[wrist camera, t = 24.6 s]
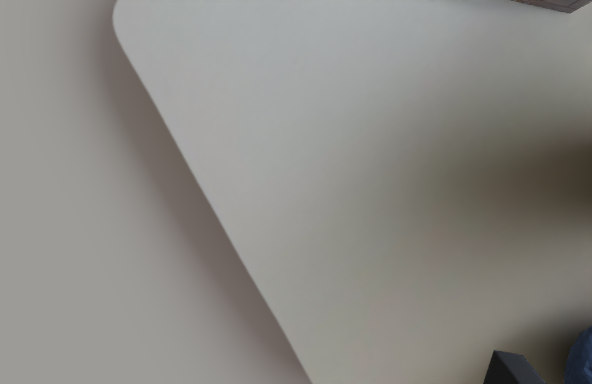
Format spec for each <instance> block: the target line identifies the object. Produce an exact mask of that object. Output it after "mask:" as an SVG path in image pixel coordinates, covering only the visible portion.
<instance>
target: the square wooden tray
mask: <svg viewBox="0 0 592 384" xmlns="http://www.w3.org/2000/svg"><path fill="white" fill-rule="evenodd" d="M513 1H517V2H522V3H526V4H531V5H535V6H540V7H544V8H549V9H553V10H558V11H562V12H567V13H571V12H573V11H575V10H577V9H579V8H581V7H582V6H584V5H586V4H588V3H590V2H592V0H513Z"/></svg>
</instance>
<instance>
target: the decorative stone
mask: <svg viewBox="0 0 592 384" xmlns="http://www.w3.org/2000/svg"><path fill="white" fill-rule="evenodd" d="M564 384H592V326H590V327H589V328H587V329H586V330H584V331H583V332H582V333H580V335H579V336H578V338H577V340H576V342H575V344H574V345H573V346H571V348H570V350H569V357H568V359H567V362H566V366H565V374H564Z"/></svg>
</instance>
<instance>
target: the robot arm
mask: <svg viewBox="0 0 592 384" xmlns="http://www.w3.org/2000/svg"><path fill="white" fill-rule="evenodd" d="M483 384H546V383H545V381H544V380H543V379H542V378H541V377H540V375H539V374H538V373H537V372H536V370H535V369H534V368H533V367H532V366H531V364H530V363H529V362H528V361H527V360H526V358H525V357H524V356H523V355H520V354H514V353H508V352H503V351H497V350H494V352H493V355H492V358H491V361H490V364H489V367H488V370H487V373H486V376H485V379H484V382H483Z"/></svg>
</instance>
